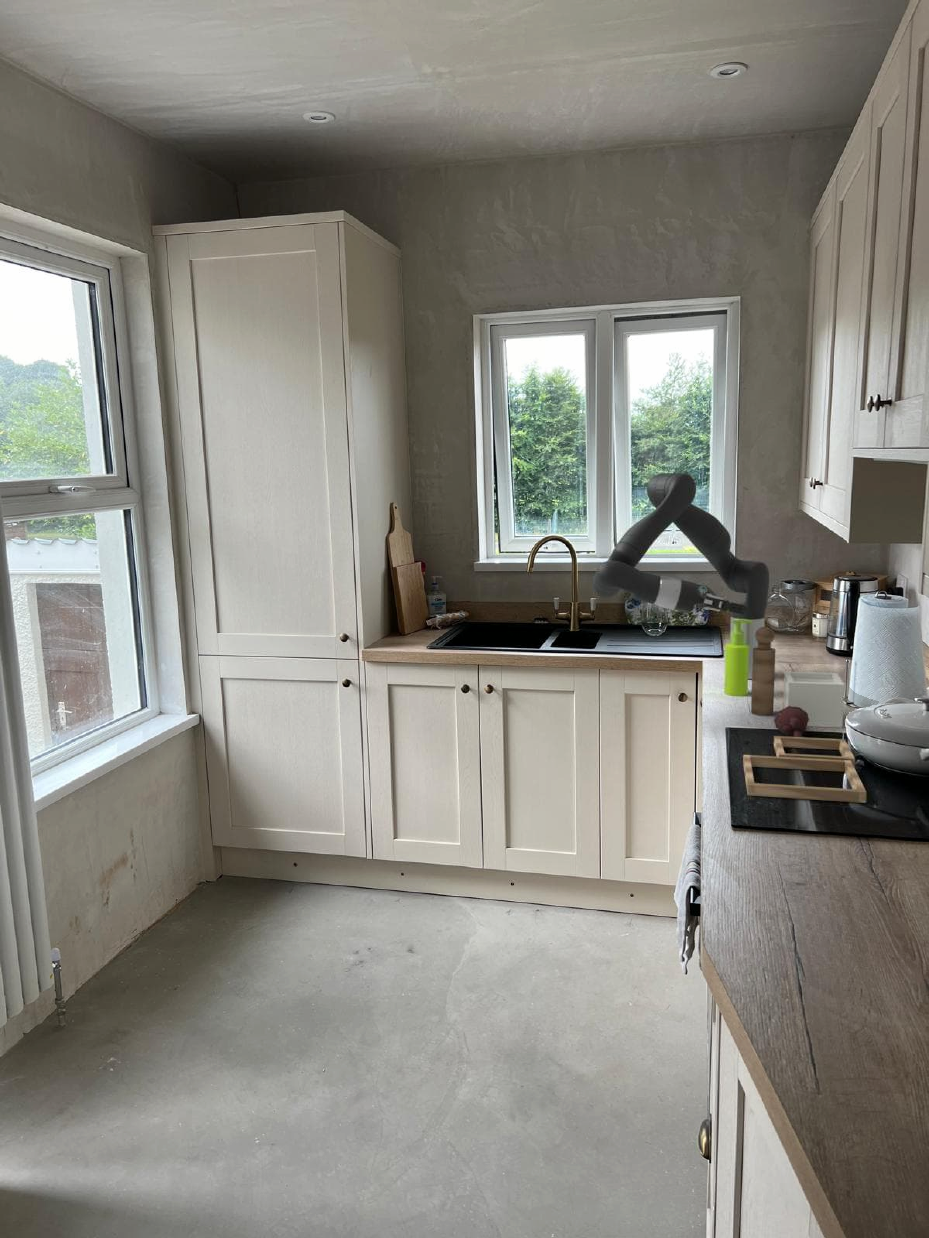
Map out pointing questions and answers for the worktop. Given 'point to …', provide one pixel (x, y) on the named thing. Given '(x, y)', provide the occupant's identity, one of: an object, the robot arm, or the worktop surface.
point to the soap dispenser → (737, 661)
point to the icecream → (792, 721)
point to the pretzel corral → (804, 791)
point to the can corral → (815, 744)
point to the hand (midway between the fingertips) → (740, 609)
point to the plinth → (815, 696)
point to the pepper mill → (763, 673)
